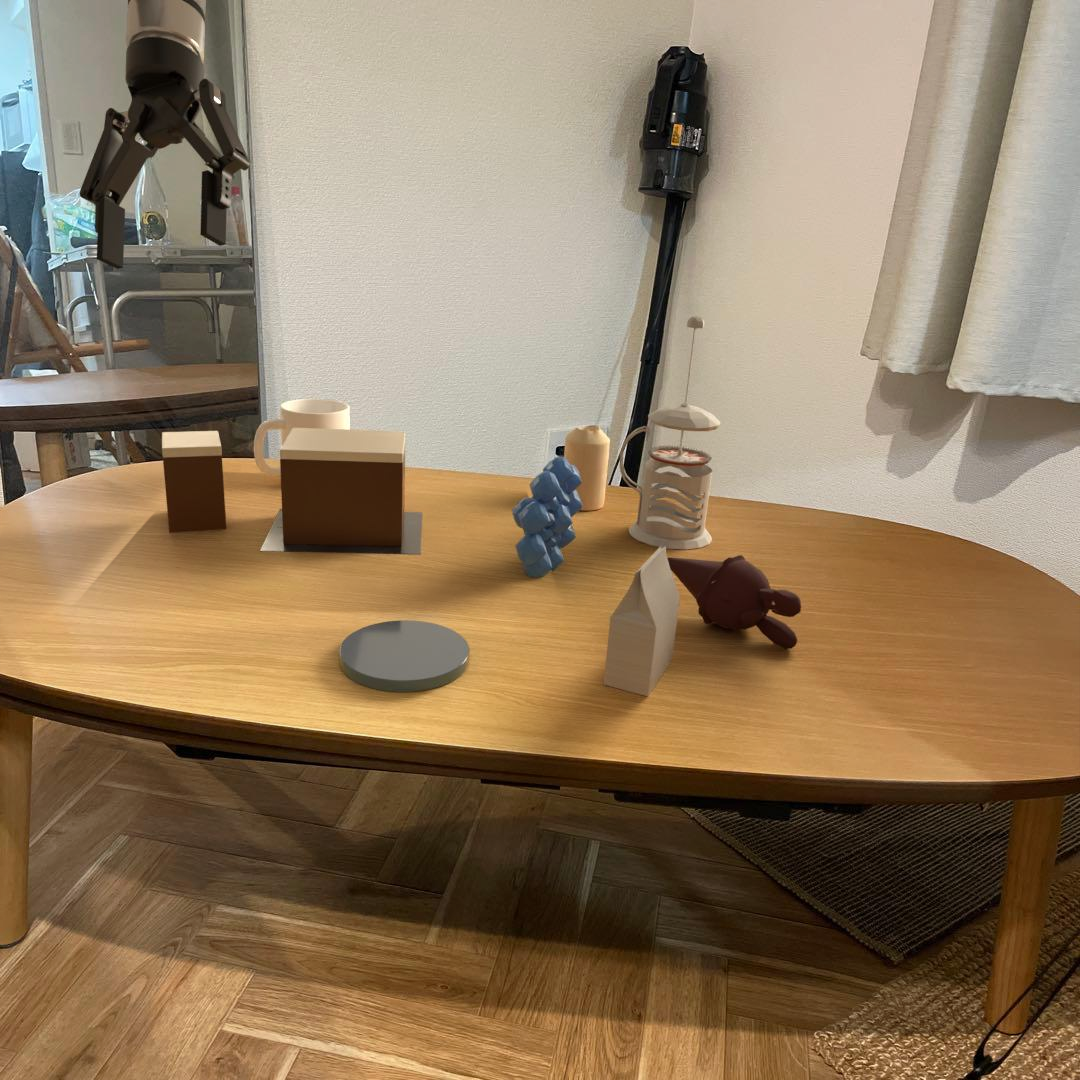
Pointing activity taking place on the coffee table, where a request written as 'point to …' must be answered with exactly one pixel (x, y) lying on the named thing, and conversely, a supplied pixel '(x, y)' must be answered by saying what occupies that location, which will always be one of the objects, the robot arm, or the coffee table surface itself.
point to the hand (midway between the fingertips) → (160, 252)
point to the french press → (675, 478)
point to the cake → (343, 487)
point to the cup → (301, 423)
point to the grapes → (548, 517)
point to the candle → (589, 463)
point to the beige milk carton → (643, 628)
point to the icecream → (738, 596)
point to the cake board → (409, 545)
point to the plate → (404, 656)
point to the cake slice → (194, 481)
